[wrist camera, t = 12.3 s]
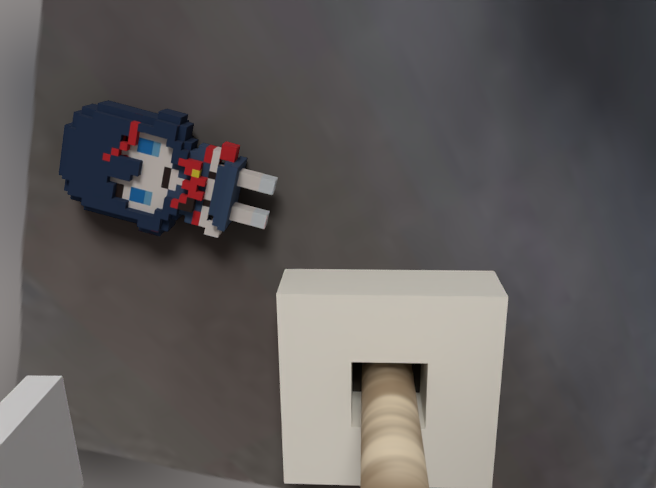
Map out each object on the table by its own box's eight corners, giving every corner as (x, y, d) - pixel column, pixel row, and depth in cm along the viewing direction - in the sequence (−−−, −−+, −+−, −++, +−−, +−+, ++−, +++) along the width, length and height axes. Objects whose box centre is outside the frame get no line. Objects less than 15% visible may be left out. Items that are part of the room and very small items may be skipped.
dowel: (361, 340, 50) (360, 473, 35) (412, 341, 50) (432, 475, 35) (361, 384, 51) (360, 530, 36) (410, 385, 51) (429, 532, 36)
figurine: (253, 267, 44) (46, 213, 44) (262, 248, 48) (73, 198, 48) (282, 148, 41) (61, 88, 41) (289, 138, 45) (88, 84, 45)
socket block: (285, 268, 48) (276, 294, 44) (493, 270, 47) (508, 296, 43) (291, 443, 53) (284, 483, 49) (480, 448, 53) (491, 489, 48)
